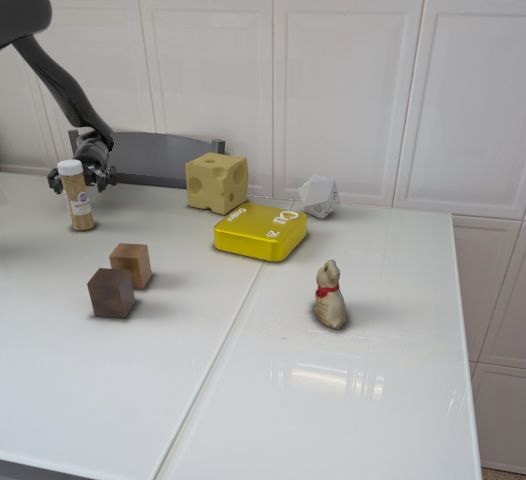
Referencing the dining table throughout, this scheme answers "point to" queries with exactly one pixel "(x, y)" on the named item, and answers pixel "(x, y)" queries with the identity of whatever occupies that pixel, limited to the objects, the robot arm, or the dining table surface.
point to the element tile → (260, 231)
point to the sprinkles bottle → (76, 194)
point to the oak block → (133, 262)
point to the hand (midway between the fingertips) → (78, 189)
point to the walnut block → (111, 293)
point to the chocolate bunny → (329, 296)
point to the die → (319, 196)
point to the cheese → (217, 182)
